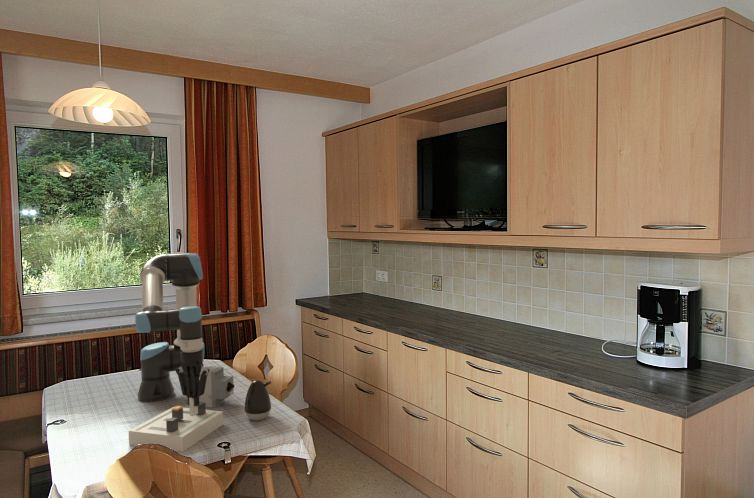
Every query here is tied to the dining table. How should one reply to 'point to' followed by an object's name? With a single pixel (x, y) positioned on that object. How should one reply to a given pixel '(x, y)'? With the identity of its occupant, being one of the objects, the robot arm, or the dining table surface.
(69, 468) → the dining table surface
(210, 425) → the breaker panel
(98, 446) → the dining table surface
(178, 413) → the block
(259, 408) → the pump dispenser
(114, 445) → the dining table surface
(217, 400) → the circuit breaker
